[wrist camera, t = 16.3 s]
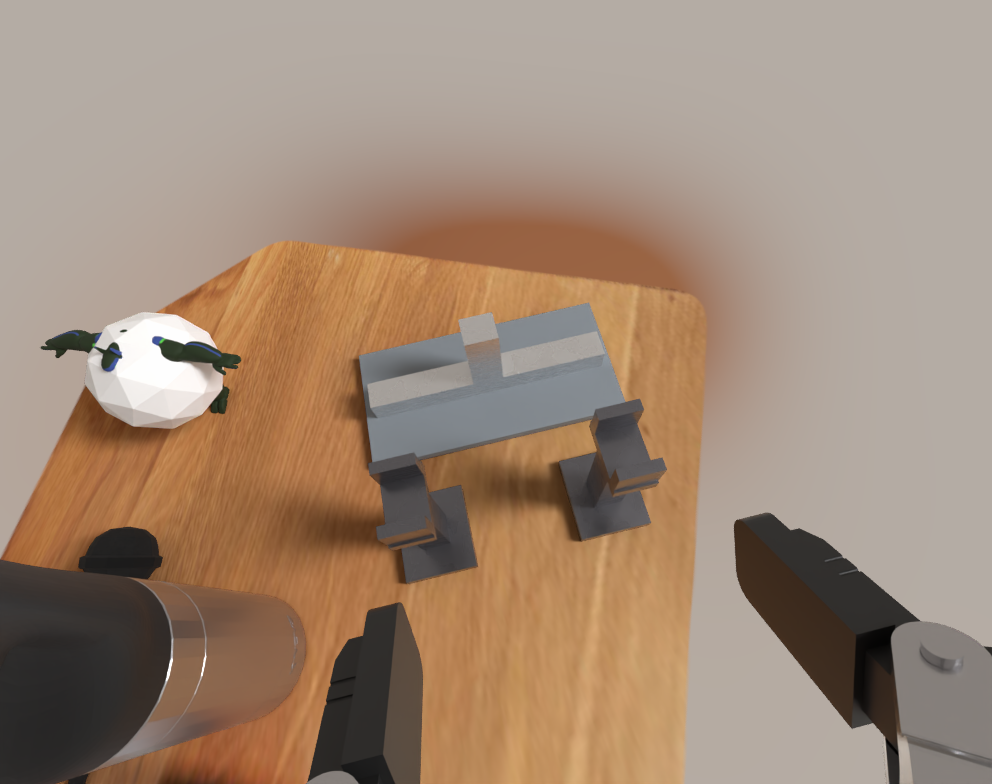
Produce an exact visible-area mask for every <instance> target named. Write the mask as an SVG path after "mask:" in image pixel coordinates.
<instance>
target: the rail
mask: <svg viewBox="0 0 992 784" xmlns="http://www.w3.org/2000/svg"><path fill="white" fill-rule="evenodd" d="M458 321H459V325H460V330H461V334H462V338H463V343H464V347H465V351H466V355H467V359H468V361H465V362H461V363H456V364H452V365H448V366H443V367H439V368H435V369H430V370H426V371H422V372H417V373H413V374H409V375H404V376H400V377H396V378H391V379H387V380H383V381H378V382H374V383H370V384H367V386H368V394H369V402H370V408H371V410H372V411H373V412H374V414H375V415H376V417H377V418H382V417H386V416H390V415H395V414H399V413H403V412H408V411H412V410H416V409H421V408H425V407H429V406H433V405H438V404H442V403H446V402H451V401H455V400H459V399H463V398H468V397H472V396H476V395H481V394H485V393H489V392H494V391H498V390H502V389H506V388H511V387H515V386H519V385H524V384H528V383H532V382H536V381H541V380H545V379H549V378H554V377H558V376H562V375H567V374H571V373H575V372H579V371H584V370H588V369H592V368H597V367H601V366H602V363H603V360H604V356H605V352H604V350H603V347H602V344H601V341H600V339H599V336H598V333H597V331H595V332H591V333H587V334H582V335H578V336H574V337H569V338H565V339H561V340H556V341H552V342H548V343H543V344H539V345H535V346H530V347H526V348H522V349H517V350H513V351H509V352H504V353H501V352H500V344H499V337H498V333H497V329H496V326H495V322H494V318H493V314H492V312H491V313H486V314H482V315H477V316H473V317H469V318H464V319H460V320H458Z"/></svg>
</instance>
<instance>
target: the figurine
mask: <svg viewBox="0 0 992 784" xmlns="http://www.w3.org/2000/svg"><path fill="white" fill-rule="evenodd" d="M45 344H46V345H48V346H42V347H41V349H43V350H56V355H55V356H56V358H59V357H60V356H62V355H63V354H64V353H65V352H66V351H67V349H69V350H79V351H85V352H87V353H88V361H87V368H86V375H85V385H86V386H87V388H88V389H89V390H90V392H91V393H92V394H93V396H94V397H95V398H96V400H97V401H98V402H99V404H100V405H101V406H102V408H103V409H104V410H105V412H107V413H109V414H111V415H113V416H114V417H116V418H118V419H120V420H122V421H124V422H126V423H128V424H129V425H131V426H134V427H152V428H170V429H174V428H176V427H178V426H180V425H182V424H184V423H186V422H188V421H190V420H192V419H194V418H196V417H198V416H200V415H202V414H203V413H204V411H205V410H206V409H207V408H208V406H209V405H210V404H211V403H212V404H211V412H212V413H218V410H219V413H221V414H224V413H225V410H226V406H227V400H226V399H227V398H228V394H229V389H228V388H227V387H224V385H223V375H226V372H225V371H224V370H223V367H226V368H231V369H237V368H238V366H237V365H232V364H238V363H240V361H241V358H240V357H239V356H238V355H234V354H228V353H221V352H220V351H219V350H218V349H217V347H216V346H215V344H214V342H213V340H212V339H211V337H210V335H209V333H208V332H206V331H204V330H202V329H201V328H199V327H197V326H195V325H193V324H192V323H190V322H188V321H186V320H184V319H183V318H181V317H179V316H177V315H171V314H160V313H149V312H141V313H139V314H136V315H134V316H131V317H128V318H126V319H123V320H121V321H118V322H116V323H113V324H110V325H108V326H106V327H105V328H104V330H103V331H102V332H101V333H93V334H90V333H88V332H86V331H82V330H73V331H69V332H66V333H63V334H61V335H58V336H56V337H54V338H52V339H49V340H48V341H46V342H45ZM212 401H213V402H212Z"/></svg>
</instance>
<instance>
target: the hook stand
mask: <svg viewBox="0 0 992 784" xmlns="http://www.w3.org/2000/svg"><path fill="white" fill-rule="evenodd" d="M643 411H644V408H643V406H642V403H641V401H640V399H637V400H633V401H628V402H624V403H620V404H616V405H611V406H607V407H603V408H599V409H595V412H594V416H593V419H592V421H591V422H590V426H589V427H590V430H591V433H592V436H593V439H594V442H595V446H596V449H597V452H596V453H592V454H588V455H584V456H580V457H575V458H571V459H567V460H563V461H559V467H560V471H561V474H562V478H563V481H564V485H565V488H566V491H567V495H568V498H569V502H570V505H571V509H572V512H573V516H574V519H575V523H576V526H577V529H578V533H579V536H580V540H581V542H582V541H586V540H590V539H594V538H598V537H602V536H606V535H610V534H614V533H618V532H622V531H626V530H631V529H635V528H639V527H643V526H647V525H649V524H650V523H651V521H650V518H649V515H648V512H647V510H646V507H645V504H644V501H643V498H642V495H641V493H640V490H644V489H648V488H652V487H656V486H657V484H658V483H659V482H658V480H659V479H660V478H661V476H662V475H663V474H664V473H665V472H666V470H667V469H666V466H665V463H664V461H663V458H659V459H654V460H650V458H649V455H648V452H647V449H646V447H645V444H644V441H643V439H642V436H641V433H640V431H639V428H638V425H637V423H638V421H639V419H640V417H641V415H642V413H643ZM368 466H369V474H370V476H371V477H372V478H373V479H374V480H375V481H376V482H377V483H379V484H380V487H381V494H382V502H383V509H384V517H385V525H381V526H377V527H376V531H377V539H378V540H379V541H380V542H382V543H384V544H386V545H387V546H388V547H389V549H390V550H392V551H393V550H397V549H402V556H403V563H404V570H405V577H406V583H408V584H411V583H415V582H419V581H423V580H427V579H431V578H435V577H439V576H443V575H447V574H452V573H456V572H460V571H464V570H468V569H472V568H476V567H478V563H477V558H476V553H475V548H474V543H473V538H472V533H471V528H470V523H469V519H468V514H467V509H466V504H465V499H464V494H463V489H462V486H461V485H459V486H455V487H450V488H446V489H442V490H438V491H434V492H430V493H429V490H428V485H427V479H426V473H425V467H424V465H423V463H422V462H420V460H419V459H418V457H417V456H416V454H415V453H414V452H413V453H409V454H405V455H401V456H396V457H392V458H388V459H384V460H380V461H375V462H371V463H368Z"/></svg>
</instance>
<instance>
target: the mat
mask: <svg viewBox="0 0 992 784" xmlns="http://www.w3.org/2000/svg"><path fill="white" fill-rule="evenodd" d="M495 326H496V329H497V333H498V337H499V344H500V352H501V353H504V352H509V351H513V350H517V349H522V348H526V347H530V346H535V345H539V344H543V343H548V342H552V341H556V340H561V339H565V338H569V337H574V336H578V335H582V334H587V333H591V332H595V331H597V333H598V336H599V339H600V341H601V344H602V347H603V350H604V352H605V356H604V360H603V363H602V366H601V367H597V368H592V369H588V370H584V371H579V372H575V373H571V374H567V375H562V376H558V377H554V378H549V379H545V380H541V381H536V382H532V383H528V384H524V385H519V386H515V387H511V388H506V389H502V390H498V391H494V392H489V393H485V394H481V395H476V396H472V397H468V398H463V399H459V400H455V401H451V402H446V403H442V404H438V405H433V406H429V407H425V408H421V409H416V410H412V411H408V412H403V413H399V414H395V415H390V416H386V417H382V418H377V417H376V415H375V414H374V412H373V411H372V410H371V408H370V402H369V394H368V386H367V384H370V383H374V382H378V381H383V380H387V379H391V378H396V377H400V376H404V375H409V374H413V373H417V372H422V371H426V370H430V369H435V368H439V367H443V366H448V365H452V364H456V363H461V362H465V361H468V359H467V355H466V351H465V347H464V343H463V338H462V334H461V332H460V333H455V334H451V335H447V336H442V337H438V338H434V339H429V340H425V341H421V342H416V343H412V344H407V345H403V346H399V347H394V348H390V349H386V350H381V351H377V352H373V353H368V354H364V355H360V356H359V360H360V368H361V376H362V384H363V392H364V400H365V407H366V415H367V423H368V431H369V439H370V446H371V454H372V462H375V461H380V460H384V459H388V458H392V457H396V456H401V455H405V454H409V453H413V452H414V453H415V454H416V456H417V457H418V459H419V460H423V459H427V458H432V457H436V456H440V455H444V454H448V453H453V452H457V451H461V450H465V449H469V448H474V447H478V446H482V445H486V444H490V443H495V442H499V441H503V440H507V439H511V438H516V437H520V436H524V435H528V434H532V433H537V432H541V431H545V430H549V429H554V428H558V427H562V426H566V425H570V424H575V423H579V422H583V421H587V420H591V419H593V416H594V412H595V409H599V408H603V407H607V406H611V405H616V404H620V403H624V402H625V399H624V397H623V394H622V391H621V389H620V386H619V383H618V380H617V378H616V375H615V372H614V370H613V367H612V364H611V361H610V359H609V356H608V353H607V351H606V348H605V345H604V342H603V340H602V337H601V334H600V332H599V329H598V326H597V323H596V321H595V318H594V315H593V313H592V310H591V307H590V304H589V303H586V304H582V305H577V306H573V307H568V308H564V309H560V310H555V311H551V312H547V313H542V314H538V315H534V316H529V317H525V318H521V319H516V320H512V321H508V322H503V323H499V324H495Z"/></svg>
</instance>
